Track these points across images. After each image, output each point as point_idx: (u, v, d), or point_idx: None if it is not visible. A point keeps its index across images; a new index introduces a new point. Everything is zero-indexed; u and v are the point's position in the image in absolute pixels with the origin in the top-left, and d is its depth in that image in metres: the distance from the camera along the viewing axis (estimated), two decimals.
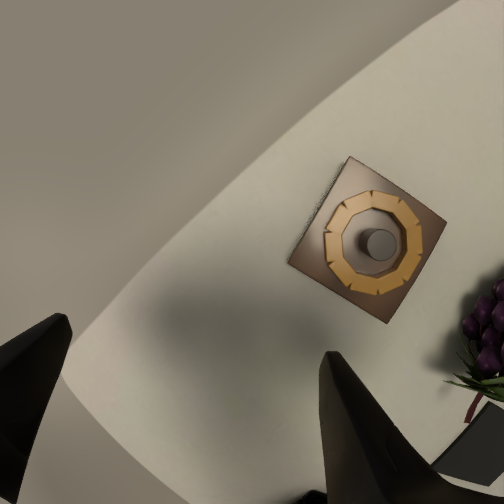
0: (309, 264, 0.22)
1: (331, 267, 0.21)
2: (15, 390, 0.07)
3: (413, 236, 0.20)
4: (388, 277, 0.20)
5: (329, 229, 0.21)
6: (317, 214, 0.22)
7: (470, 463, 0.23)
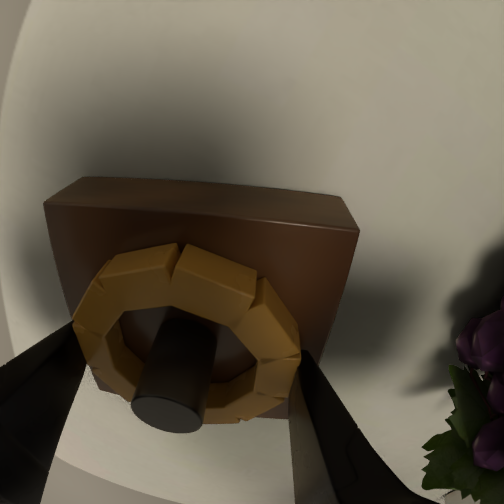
0: None
1: None
2: (37, 400, 0.07)
3: (255, 333, 0.08)
4: (244, 402, 0.10)
5: (92, 365, 0.09)
6: None
7: None
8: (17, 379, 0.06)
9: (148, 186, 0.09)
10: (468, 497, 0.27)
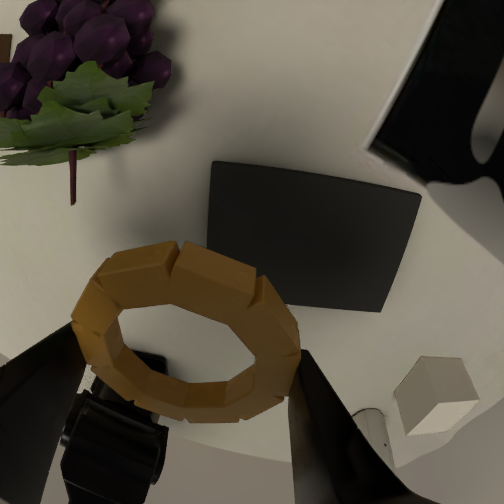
0: None
1: (139, 406, 0.10)
2: (38, 400, 0.07)
3: (255, 331, 0.08)
4: (243, 401, 0.10)
5: (91, 364, 0.09)
6: None
7: (279, 274, 0.22)
8: (17, 379, 0.06)
9: None
10: None
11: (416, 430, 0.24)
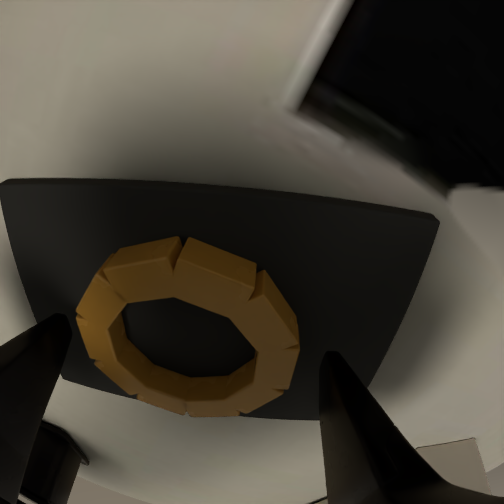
0: None
1: (141, 400, 0.11)
2: (15, 390, 0.07)
3: (255, 324, 0.08)
4: (244, 394, 0.10)
5: (94, 358, 0.10)
6: None
7: None
8: None
9: None
10: None
11: None
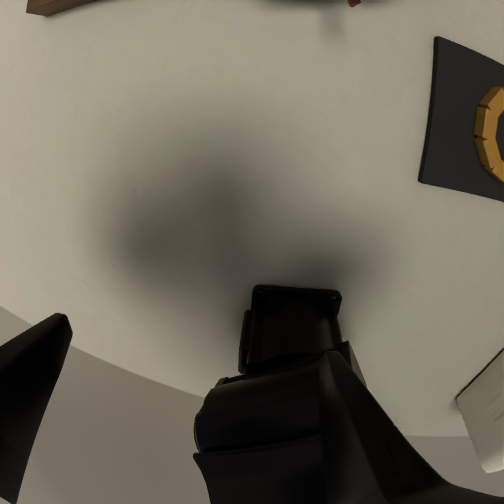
0: None
1: (494, 172, 0.16)
2: (15, 390, 0.07)
3: None
4: None
5: (485, 136, 0.15)
6: None
7: None
8: None
9: None
10: (489, 388, 0.24)
11: None
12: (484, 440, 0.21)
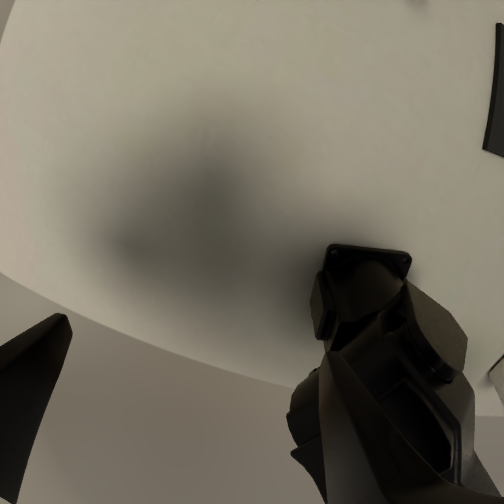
0: None
1: None
2: (15, 390, 0.07)
3: None
4: None
5: None
6: None
7: None
8: None
9: None
10: None
11: None
12: None
